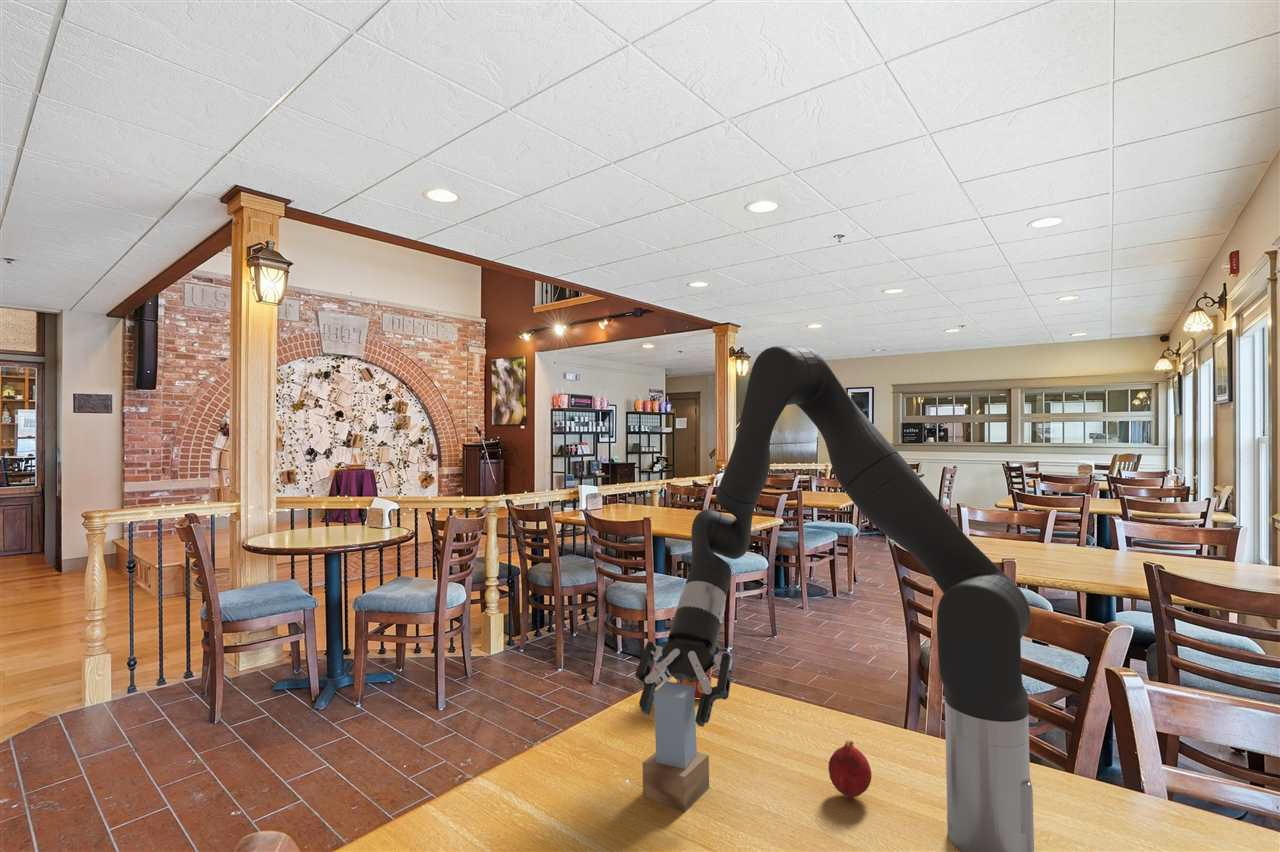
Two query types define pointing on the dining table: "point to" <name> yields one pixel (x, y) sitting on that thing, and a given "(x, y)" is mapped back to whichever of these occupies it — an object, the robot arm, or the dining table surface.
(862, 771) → the onion
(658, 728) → the pillar
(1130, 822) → the dining table surface
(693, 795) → the walnut block
